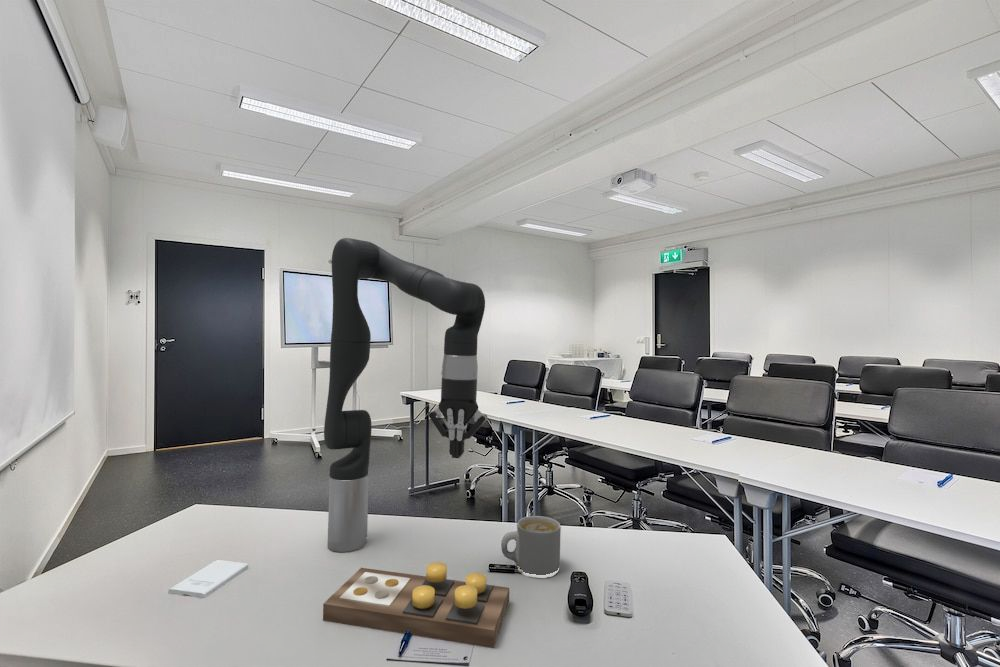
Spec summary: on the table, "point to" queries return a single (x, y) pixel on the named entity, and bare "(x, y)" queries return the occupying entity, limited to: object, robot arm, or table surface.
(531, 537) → the coffee mug
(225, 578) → the external hard drive
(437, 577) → the button
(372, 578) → the button board
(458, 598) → the button
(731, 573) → the table surface
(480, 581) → the button
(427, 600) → the button
